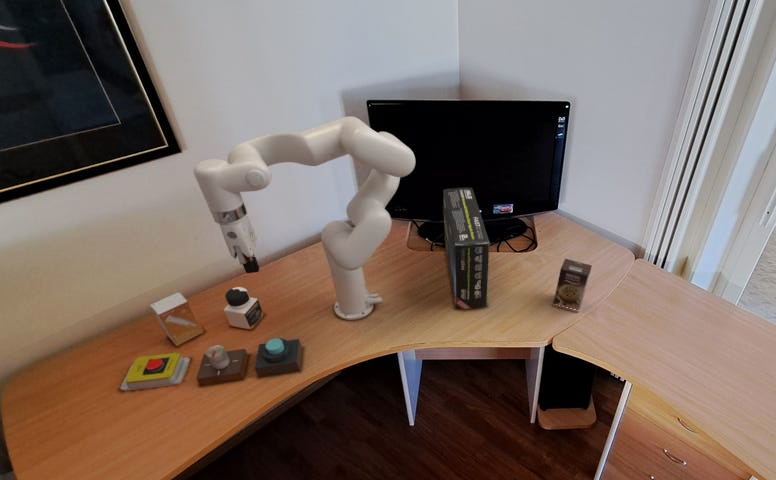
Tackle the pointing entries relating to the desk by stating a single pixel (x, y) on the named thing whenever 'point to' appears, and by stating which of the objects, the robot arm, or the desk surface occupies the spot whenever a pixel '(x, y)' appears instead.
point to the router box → (466, 248)
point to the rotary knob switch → (223, 369)
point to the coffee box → (572, 285)
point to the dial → (218, 356)
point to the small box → (177, 318)
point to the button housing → (279, 359)
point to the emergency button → (155, 371)
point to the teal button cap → (275, 346)
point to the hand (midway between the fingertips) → (253, 270)
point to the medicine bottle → (242, 308)
